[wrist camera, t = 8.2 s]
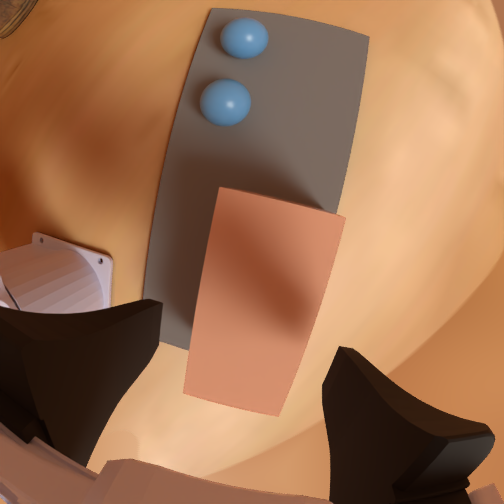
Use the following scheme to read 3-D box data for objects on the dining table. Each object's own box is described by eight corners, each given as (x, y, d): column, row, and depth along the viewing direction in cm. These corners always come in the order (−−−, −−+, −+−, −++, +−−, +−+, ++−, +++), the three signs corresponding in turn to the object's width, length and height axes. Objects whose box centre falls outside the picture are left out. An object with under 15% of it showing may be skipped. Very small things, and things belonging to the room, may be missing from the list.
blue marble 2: (201, 127, 17) (187, 115, 14) (213, 85, 16) (201, 68, 13) (247, 134, 17) (240, 124, 14) (258, 92, 16) (253, 74, 13)
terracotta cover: (207, 342, 20) (183, 393, 14) (239, 188, 18) (219, 187, 12) (280, 360, 20) (278, 416, 14) (324, 209, 17) (346, 217, 11)
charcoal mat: (143, 331, 21) (140, 334, 20) (213, 11, 15) (212, 8, 15) (285, 371, 20) (285, 374, 20) (367, 39, 15) (369, 36, 14)
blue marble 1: (220, 63, 16) (209, 43, 13) (231, 29, 15) (223, 7, 12) (264, 69, 16) (261, 48, 13) (273, 34, 15) (271, 12, 12)
